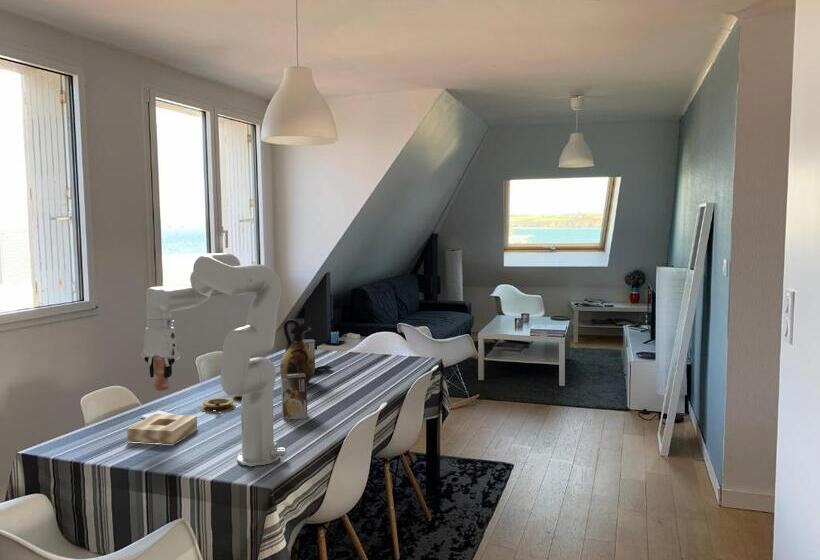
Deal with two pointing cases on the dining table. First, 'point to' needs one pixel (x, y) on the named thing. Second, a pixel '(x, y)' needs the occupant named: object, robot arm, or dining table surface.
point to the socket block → (162, 429)
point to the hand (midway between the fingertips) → (160, 376)
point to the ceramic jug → (297, 352)
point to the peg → (159, 374)
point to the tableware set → (220, 404)
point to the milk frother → (311, 347)
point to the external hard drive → (155, 413)
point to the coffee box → (294, 396)
